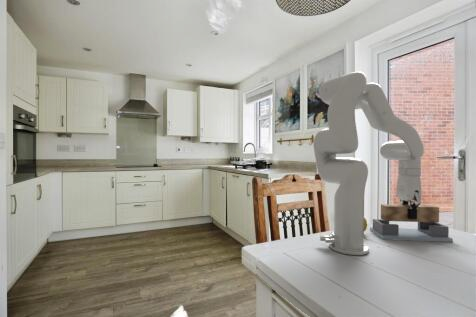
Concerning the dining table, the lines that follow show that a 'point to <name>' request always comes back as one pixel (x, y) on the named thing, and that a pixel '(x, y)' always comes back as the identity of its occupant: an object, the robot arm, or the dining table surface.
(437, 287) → the dining table surface
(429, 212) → the slat
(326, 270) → the dining table surface
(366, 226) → the lemon
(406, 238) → the grey stand
